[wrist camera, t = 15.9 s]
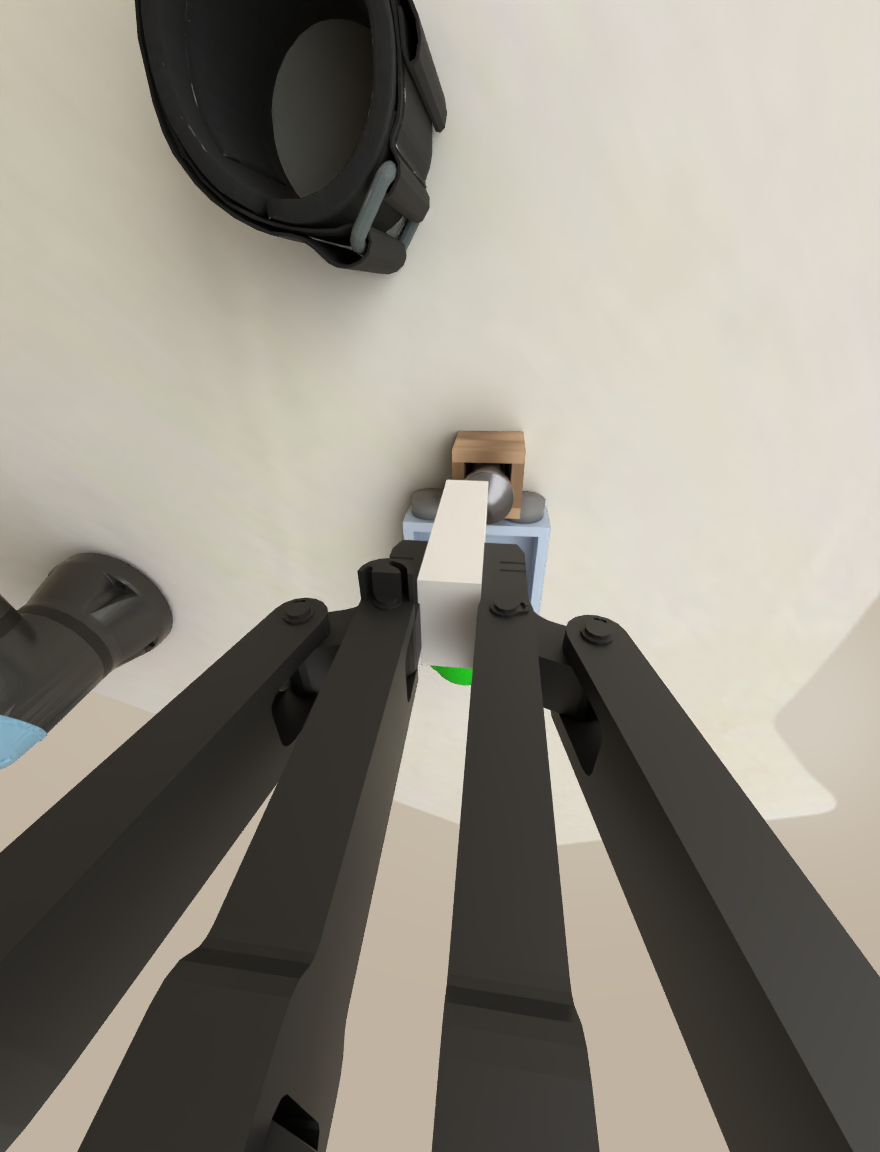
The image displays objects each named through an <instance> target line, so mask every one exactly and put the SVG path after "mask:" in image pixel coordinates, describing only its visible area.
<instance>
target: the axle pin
mask: <svg viewBox="0 0 880 1152" xmlns="http://www.w3.org/2000/svg"><path fill="white" fill-rule="evenodd" d="M464 480H469V481H488V499H487V517H486V525H489V524H494V523H497V522H499V521H501V520H502V519H504V518H505V517H506V516H507V515H508V514H509V512H510V511H511V508H512V506H513V487H512V484H511V482H510V480H509V479H508V478H507V476H506V475H505V465H504V463H474V464H473V469H472V472H471V473H470V474H469V475H467V476H466V477H465V479H464Z"/></svg>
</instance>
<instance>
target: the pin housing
mask: <svg viewBox="0 0 880 1152" xmlns="http://www.w3.org/2000/svg"><path fill="white" fill-rule="evenodd" d="M525 453H526V451H525V442H524V434H523V432H497V431H459V432H458V434H457V437H456V440H455V443H454V446H453V449H452V480H464V479H465V477H466V476H467V475H469V463H510V472H509V480H510V482H511V484H512V487H513V506H512V508H511V511H510V512H509V514H508V515H507V516H506V517H505V518H508V519H520V509H521V498H522V487H523V475H524V464H525Z"/></svg>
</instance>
